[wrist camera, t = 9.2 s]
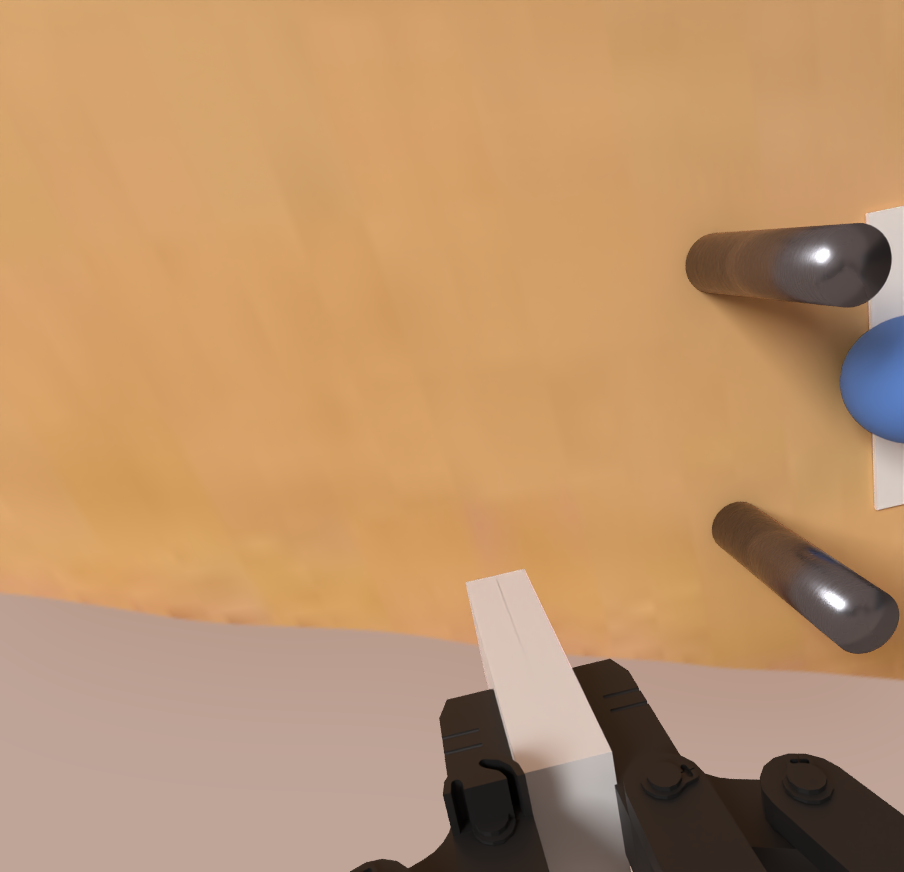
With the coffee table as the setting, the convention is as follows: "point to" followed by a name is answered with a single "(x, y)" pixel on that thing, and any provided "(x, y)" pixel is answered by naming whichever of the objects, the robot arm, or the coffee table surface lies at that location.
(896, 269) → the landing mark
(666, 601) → the coffee table surface
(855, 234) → the post
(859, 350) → the ball
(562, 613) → the coffee table surface
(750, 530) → the post
